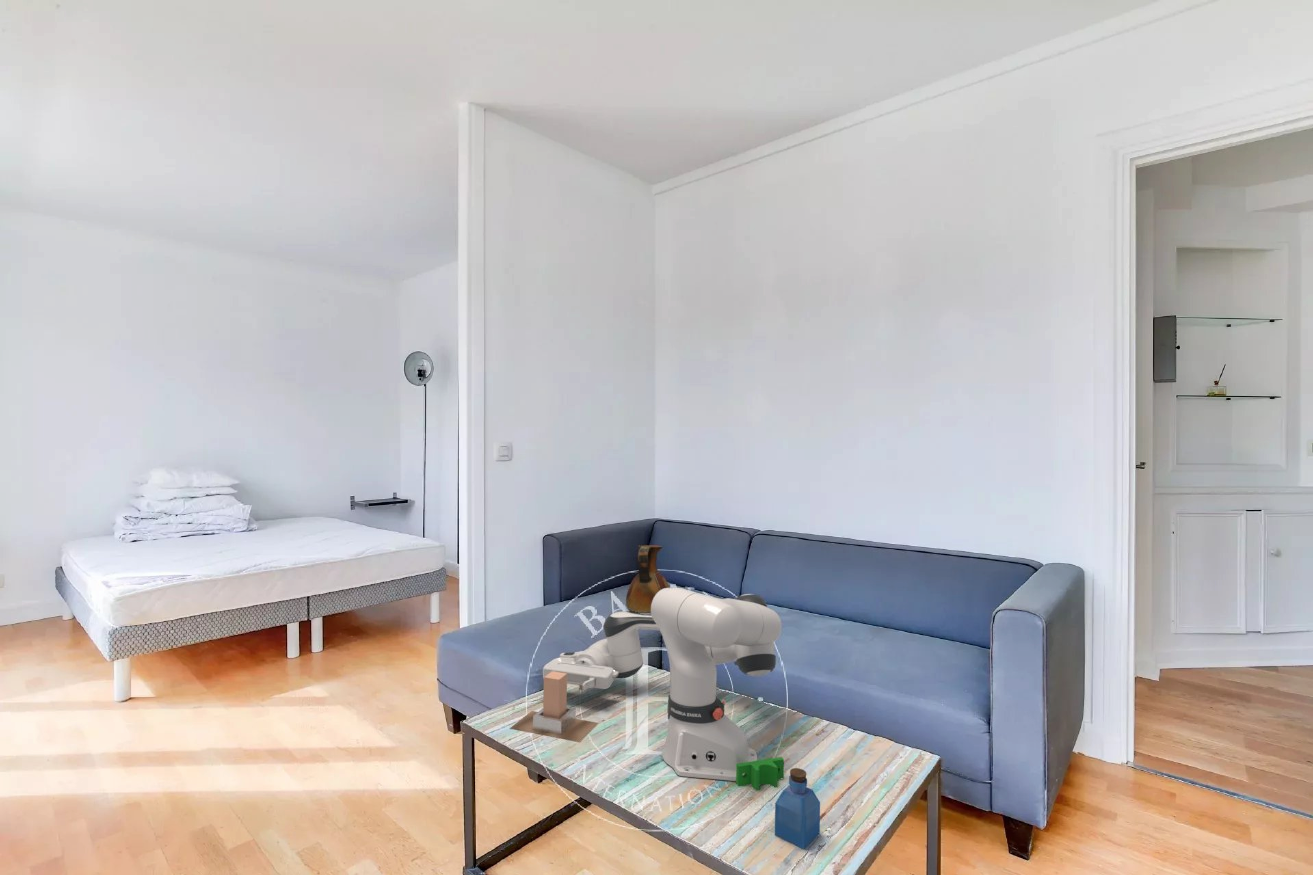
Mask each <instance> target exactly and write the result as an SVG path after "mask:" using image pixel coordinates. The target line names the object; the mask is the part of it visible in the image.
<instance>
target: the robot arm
mask: <svg viewBox="0 0 1313 875" xmlns="http://www.w3.org/2000/svg"><path fill="white" fill-rule="evenodd" d="M602 627H603V632H604V635H605V638H602V639H600V640H597V641H596V642H594V643H593V644H591V645H590V646H588V648H585V650H580V651H576V652H561V653H560V654H559V657H556V658H554V659H552V660H550V661H549V662H547V663H546V664H545V665H544V666H543V668H542V677H543V679H544V677H545V676H546V675H548V674H549V673H550V672H552V671H554V672H560V673H567V685H575V686H579V688H578V690H580V691H587V689H592V688H595V689H600V690H601V689H602V690H605V689H609V688H610V687H611V686H612V684H613V682H614V679H626V678H627V679H628V678H630V677H633V676H634V675H636V674H637V673H638V672H639V671H640V670H641V669H642V667H643V665H644V661H643V660H644V658H643V652H642V647H641V642H640V636H639V635H640V634H639V630H643V631H644V630H647V631H660V634H661V636H662V639H663V642H664V646H665V649H666V653H667V657H668V658H667V659H668V662H669V695H668V698H667V706H666V707H667V719H668V725H667V726H668V727H667V732H666V737H665V738H666V739H665V742H664V743H665V744H664V746H663V750H662V753H661V756H662V759H663V761H664V762H665V763H666V764H668V765H669V767H671V768H672V769H673V770H674V772H675V774H677V775H678V777H679V776H680V777H689V778H697V779H698V778H699V779H708V780H709V779H710V780H719V781H720V780H721V781H731V782H732V781H733V782H736V766H737V764H739V763H745V762H752V761H758V760H759V759H758V755H757V753H756V751H755V750H754V749H753V748H750V747H749V745H748V739H747V736H746V732H745V731H744V729H742V727H740V726H738V724H736V723H735V722H734V721H733V720H732V719H731V718H729V717H728V716H727V715H726V714H725V705H726V700H725V698H724V699H723V700H722V701H721V699H719V697H718V696H717V666H716V665H723V664H727V663H731V662H733V663H734V665H735V666H737V667H738V669H739V670H740V671H741V672H742V673H743V674H745V675H747V676H750V677H763V676H765V675H768V674H769V673H772V672H773V671H774V669H775V668H776V664H777V659H776V657H777V656H776V655H775V644H774V643H775V642H776V641H777V640H778V639H779V637H780V635H781V633H782V628H783V626H782V620H781V618H780V616H779V614H778V613H777V611H775V610H773V609H771V608H769V607H768V605H767V602H766V600H765V598H763V597H762V596H760V594H753V593H746V594H745V593H744V594H741V595H739V596H737V597H735V598H729V597H728V598H719V597H714V596H711V595H706V594H704V593H699V592H696V591H693V590H689V589H686V588H682V587H670V588H664V589H662V590H660V591H659V592H658V593H657V594H656V595H655V597H654V598H653V601H652V604H651V614H639V613H636V612H629V611H628V612H627V611H616V612H613V613H610V614H609V615H608V616H607V618H606V619H605V621H604V622H603V625H602ZM744 774H745V773H744ZM744 774H743V775H744ZM743 775H742V776H743Z"/></svg>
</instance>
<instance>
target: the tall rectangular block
mask: <svg viewBox="0 0 1313 875" xmlns="http://www.w3.org/2000/svg"><path fill="white" fill-rule="evenodd" d="M567 695H568V684H567V673H560V672H554V671H552V672H550V673H549V674H548V675H546V676H545V677H544V678H543V697H542V698H543V699H542V700H543V701H542V702H543V703H542V704H543V706H542V709H543V716H546V717H552V718H557V719H560V718H561V717H562V716H563V715H565V714H566V711H567V707H568V705H567V704H568V702H567V701H568V700H567V698H568V697H567Z"/></svg>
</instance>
